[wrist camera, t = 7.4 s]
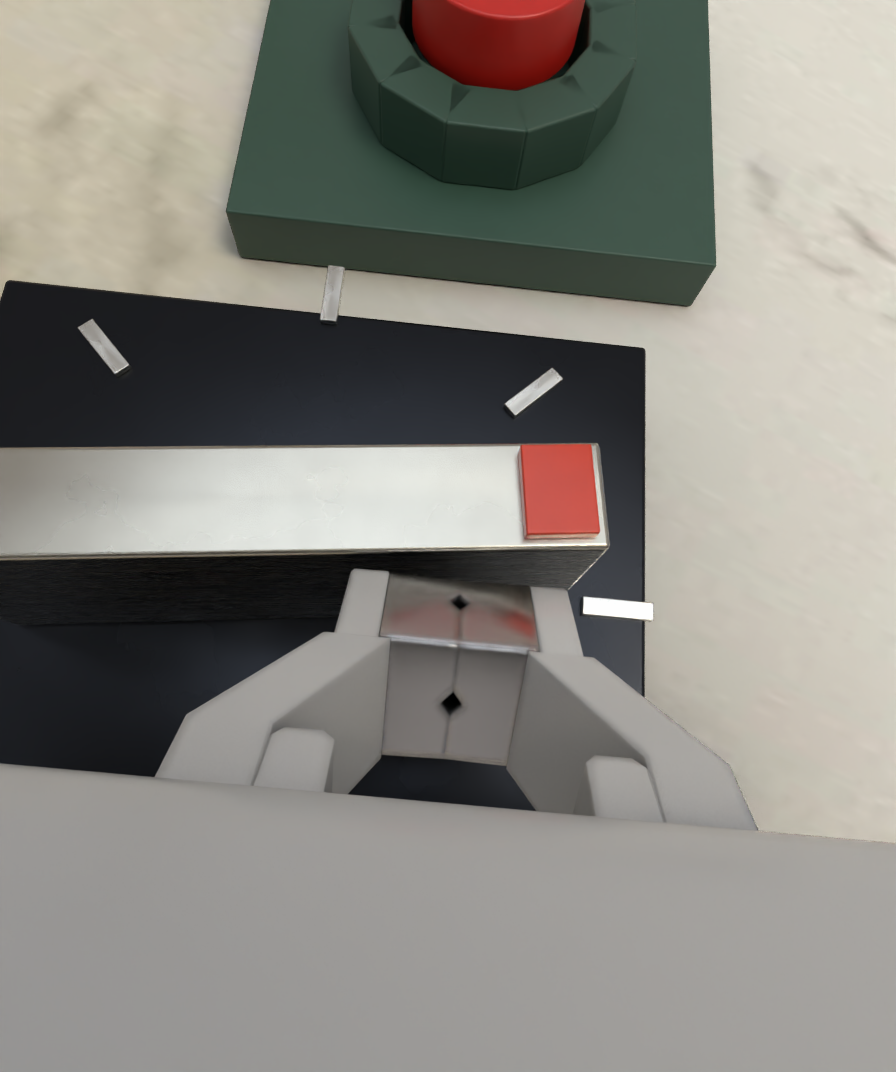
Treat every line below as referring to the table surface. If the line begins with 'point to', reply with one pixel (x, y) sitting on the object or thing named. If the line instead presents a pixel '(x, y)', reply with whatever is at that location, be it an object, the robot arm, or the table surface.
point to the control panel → (287, 419)
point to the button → (497, 39)
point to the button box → (483, 154)
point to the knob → (283, 525)
